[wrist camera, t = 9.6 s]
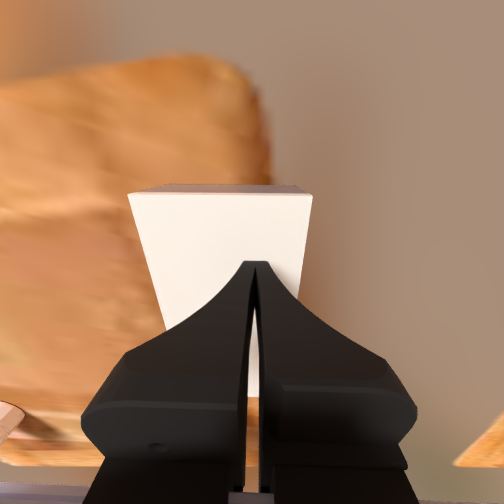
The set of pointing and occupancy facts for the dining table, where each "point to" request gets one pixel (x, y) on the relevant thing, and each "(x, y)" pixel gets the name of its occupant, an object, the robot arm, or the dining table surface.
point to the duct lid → (218, 247)
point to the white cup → (9, 419)
